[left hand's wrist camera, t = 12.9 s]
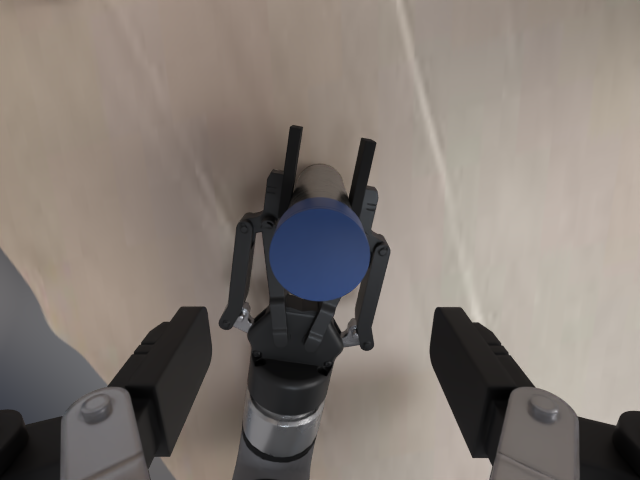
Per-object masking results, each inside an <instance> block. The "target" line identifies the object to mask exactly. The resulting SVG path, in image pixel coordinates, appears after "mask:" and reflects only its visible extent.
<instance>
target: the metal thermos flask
mask: <svg viewBox="0 0 640 480" xmlns="http://www.w3.org/2000/svg"><path fill="white" fill-rule="evenodd" d="M315 197H325V198H331V199H334V200H337V201H339V202H342V203H343V204H345V205H347V206H348V207H349V208H350V209H351V210H352V208H351V205H350V202H349V199H348V196H347V192H346V189H345V186H344V183H343V180H342V177H341V176H340V174H339V173H338V172H337V171H336V170H335V169H334V168H332V167H331V166H328V165H325V164H315V165H312V166H309V167H308V168H306V169H305V170H304V171H303V172H302V173H301V174H300V176H299V177H298V180H297V183H296V186H295V189H294V192H293V195H292V198H291V201H290V204H289V207H288V209H289V208H290V207H292V206H293V205H294V204H296V203H298V202H300V201H302V200H305V199H309V198H315Z"/></svg>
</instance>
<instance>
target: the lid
mask: <svg viewBox="0 0 640 480" xmlns="http://www.w3.org/2000/svg"><path fill="white" fill-rule="evenodd" d="M269 261H270V266H271V269H272V272H273V274H274V275H275V277H276V279H277V280H278V282H279V283H280V284H281V285H282V286H283V287H284V288H285V289H286V290H287V291H289V292H290V293H292V294H293V295H295V296H297V297H300V298H303V299H306V300H310V301H329V300H333V299H337V298H339V297H342V296H344V295H346V294H348V293H349V292H351V291H352V290H353V289H354V288H355V287H357V285H358V284H359V283H360V282H361V281H362V279H363V278H364V276H365V274H366V272H367V269H368V266H369V262H370V247H369V243H368V240H367V237H366V234H365V232H364V229H363V226H362V224H361V221H360V220H359V218H358V216H357V215H356V214H355V213H354V212H353V211H352V210H351V209H350V208H349V207H348V206H347V205H345V204H343V203H342V202H339V201H337V200H334V199H331V198H325V197H315V198H309V199H305V200H302V201H300V202H298V203H296V204H294V205H293V206H292V207H290V208H289V209H288V210H287V211H286V212H285V213H284V214H283V216H282V217H281V219H280V220H279V222H278V225H277V227H276V230H275V233H274V235H273V238H272V241H271V244H270V249H269Z"/></svg>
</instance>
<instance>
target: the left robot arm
mask: <svg viewBox="0 0 640 480" xmlns="http://www.w3.org/2000/svg"><path fill="white" fill-rule="evenodd" d="M211 357H212V343H211V335H210V327H209V320H208V312H207V309H206V307H180V309H179V310H178V311H177V313H176V314H175V315H174V317H173V318H172V320H171V321H170V322H163V323H161V324H160V325H158V326H157V327H156V328H154V329H153V330H151V331H150V332H149V333H148V334H147V336H146V337H145V338H144V340H143V341H142V342H141V345H139V346H138V347H137V349H136V350H135V351H134V354H132V355H131V357H130V358H129V359H128V360H127V362H126V363H125V364H124V366H123V367H122V368H121V370H120V371H119V372H118V373H117V375H116V376H115V377H114V379H113V380H112V381H111V383H110V384H109V385H108V386H107V387H106V388H101V389H98V390H95V391H92V392H90V393H88V394H86V395H84V396H82V397H81V398H79V399H78V400H77V401H75V402H74V403H73V404H72V405H71V406H70V407H69V408H68V409H67V410H66V411H65V413H64V415H63V416H61V417H57V418H53V419H48V420H44V421H40V422H36V423H32V424H28V425H25V423H24V420H23V418H22V415H21V414H20V413H19V412H18V411H15V410H0V480H151V479H150V475H149V471H148V469H149V467H150V465H151V462H152V460H153V458H154V457H170V455H171V453H172V451H173V448H174V446H175V444H176V442H177V439H178V437H179V435H180V432H181V430H182V428H183V425H184V423H185V421H186V418H187V416H188V414H189V412H190V409H191V407H192V405H193V402H194V400H195V398H196V395H197V393H198V391H199V388H200V386H201V384H202V382H203V379H204V377H205V375H206V372H207V370H208V368H209V365H210V362H211ZM430 359H431V363H432V366H433V369H434V371H435V373H436V376H437V378H438V380H439V382H440V385H441V387H442V389H443V392H444V394H445V396H446V398H447V401H448V403H449V405H450V408H451V410H452V412H453V414H454V417H455V419H456V421H457V423H458V426H459V428H460V430H461V433H462V435H463V437H464V439H465V442H466V444H467V446H468V449H469V451H470V453H471V455H472V458H489V460H490V462H491V464H492V466H493V467H492V471H491V475H490V479H489V480H640V411H628V412H624V413H623V414H621V416H620V418H619V420H618V423H617V425H616V426H615V425H610V424H606V423H602V422H598V421H594V420H590V419H585V418H582V417H578V416H577V415H576V413H575V411H574V410H573V409H572V408H571V407H570V406H569V405H568V404H567V403H566V402H565V401H563V400H562V399H561V398H559V397H558V396H556V395H554V394H552V393H550V392H548V391H545V390H542V389H539V388H535V386H534V385H533V384H532V382H531V381H530V380H529V379H528V377H527V376H526V375H525V373H524V372H523V371H522V370H521V368H520V367H519V366H518V364H517V363H516V362H515V361H514V359H513V358H512V357H511V355H509V354H508V352H507V350H506V349H505V348H504V346H501V343H500V341H499V340H498V339H497V337H496V336H495V335H494V334H493V332H491V331H490V330H489V329H487V328H486V327H484V326H483V325H481V324H480V323H472V322H471V320H470V319H469V317H468V316H467V315H466V313H465V312H464V310H463V309H462V308H461V307H437V308H436V309H435V312H434V319H433V326H432V334H431V341H430Z"/></svg>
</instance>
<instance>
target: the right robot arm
mask: <svg viewBox="0 0 640 480" xmlns="http://www.w3.org/2000/svg"><path fill="white" fill-rule="evenodd" d="M302 130H303V127H300V126H295V125H292V126H291V127H290V131H289V138H288V145H287V152H286V160H285V167H284V171H281V170H275V169H273V170H272V172H271V173H270V175H269V177H268V179H267V187H266V195H265V203H264V210H263V211H261V212H258V213H246V214H245V215H244V216H243V218H242V219H241V220H240V222H239V223H238V225H237V227H236V236H235V245H234V255H233V264H232V273H231V282H230V291H229V301H228V304H227V306H226V308H225V310H224V312H223V314H222V316H221V318H220V320H219V326H220V327H221V328H222V329H224V330H229V329H231V328H232V327H233V326H234V327H236V328H238V329H240V330H242V331H244V332H246V333H247V336H248V340H249V342H250V344H251V348H252V350H251V358H250V366H249V373H248V386H247V389H246V396H245V405H244V413H243V422H242V433H241V439H240V445H239V451H238V457H237V462H236V466H235V470H234V475H233V479H232V480H309V479H310V465H311V459H312V454H313V448H314V443H315V439H316V436H317V432H318V429H319V424H320V420H321V416H322V412H323V408H324V403H325V397H326V394H327V390H328V386H329V381H330V377H331V373H332V368H333V364H334V361H335V359H336V357H337V356H338V355H339V354H340V353H341V352H342V350H343V347H349V346H356V345H360V347H361V349H363V350H365V351H369V350H371V349H372V348H373V347H374V341H373V335H372V328H371V327H372V323H373V319H374V315H375V311H376V307H377V303H378V299H379V296H380V292H381V288H382V284H383V280H384V276H385V272H386V268H387V264H388V260H389V256H390V248H389V246H388V244H387V242H386V240H385V238H384V236H382V235H381V234H377V233H375V232H373V231H372V230H371V227H372V223H373V219H374V214H375V210H376V205H377V202H378V192H377V190H376V188H375V187H371V186H367V182H368V178H369V173H370V169H371V165H372V160H373V156H374V151H375V147H376V142H375V141H373V140H371V139H366V138H361V142H360V146H359V151H358V156H357V161H356V166H355V170H354V175H353V180H352V185H351V189H350V194H349V202H350V205H351V208H352V211H353V212H354V213H355V214H356V215H357V216H358V218H359V220H360V221H361V224H362V226H363V229H364V232H365V234H366V237H367V240H368V243H369V247H370V262H369V266H368V269H367V272H366V274H365V276H364V278H363V279H362V281H361V285H360V289H359V293H358V298H357V302H356V307H355V318H352V319H351V320H350V322H349V323H348V326H347V329H346V330H345V331H343V332H341V331H340V329H339V327H338V325H337V323H336V322H335V320H334V318H333V316H334V314H335V310H336V307H337V305H338V303H339V301H340V299H341V297H339V298H337V299H333V300H329V301H310V300H306V299H301V298H299V297H296V296H293V295H289V291H287V290H286V289H285V288H284V287H283V286H282V285H281V284H280V283H279V282H278V280H277V279H276V277H275V275H274V274H273V272H272V269H271V266H270V261H269V249H270V244H271V241H272V238H273V235H274V233H275V230H276V227H277V225H278V222H279V220H280V219H281V217H282V216H283V214H284V213H285V212H286V211H287V210H288V207H289V204H290V201H291V198H292V195H293V190H294V183H295V177H296V170H297V163H298V157H299V150H300V143H301V137H302ZM257 232H262V237H263V245H264V253H265V262H266V270H267V278H268V287H269V295H270V305H269V306H268V307H267V308H266V309H265V310H264V311H262V312H261V313H260V314H259V315H258V316H257V317H256V318H255V319H254V318H252V317H251V315H250V310H251V307H250V306H249V303H248V302H245V300H246V298H247V295H248V291H249V284H250V277H251V269H252V261H253V254H254V246H255V238H256V233H257Z"/></svg>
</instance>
